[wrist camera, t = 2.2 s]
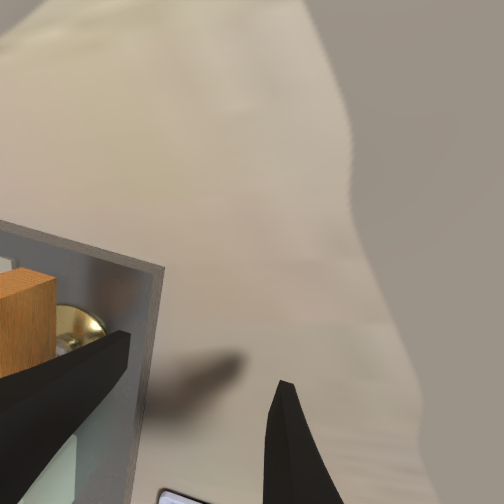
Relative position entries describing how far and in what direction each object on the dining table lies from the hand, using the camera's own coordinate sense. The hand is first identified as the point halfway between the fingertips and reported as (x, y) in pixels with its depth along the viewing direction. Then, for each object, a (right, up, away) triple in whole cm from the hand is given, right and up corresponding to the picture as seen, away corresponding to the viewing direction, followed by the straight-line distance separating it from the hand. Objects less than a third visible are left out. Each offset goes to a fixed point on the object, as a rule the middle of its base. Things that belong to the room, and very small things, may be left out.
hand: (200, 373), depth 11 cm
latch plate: (-12, -3, +6) cm, 14 cm away
